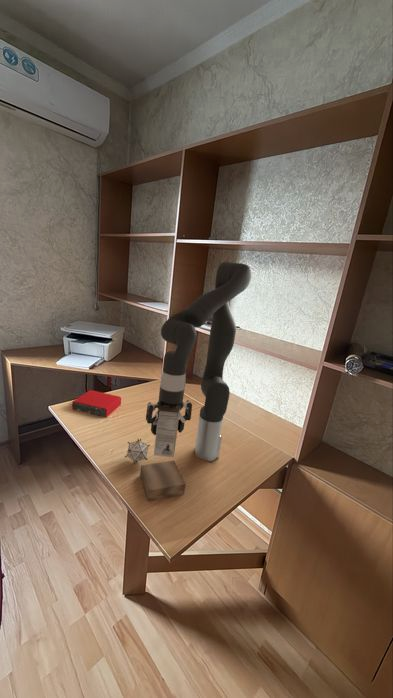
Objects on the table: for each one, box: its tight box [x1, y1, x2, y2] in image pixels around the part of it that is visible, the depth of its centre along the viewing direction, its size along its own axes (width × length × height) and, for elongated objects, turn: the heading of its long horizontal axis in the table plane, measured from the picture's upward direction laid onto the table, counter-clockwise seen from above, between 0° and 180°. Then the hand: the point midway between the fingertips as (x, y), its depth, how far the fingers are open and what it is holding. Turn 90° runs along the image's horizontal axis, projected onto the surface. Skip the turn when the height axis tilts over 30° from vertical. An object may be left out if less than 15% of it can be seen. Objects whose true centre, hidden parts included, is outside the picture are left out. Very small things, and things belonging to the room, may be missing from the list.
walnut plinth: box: [139, 460, 186, 502], centre depth 97 cm, size 12×12×4 cm
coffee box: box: [153, 405, 181, 458], centre depth 92 cm, size 9×6×16 cm
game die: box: [124, 438, 151, 464], centre depth 105 cm, size 9×8×10 cm
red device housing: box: [71, 389, 122, 419], centre depth 142 cm, size 18×14×5 cm
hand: (167, 432), depth 93 cm, fingers closed on coffee box, 8 cm apart
